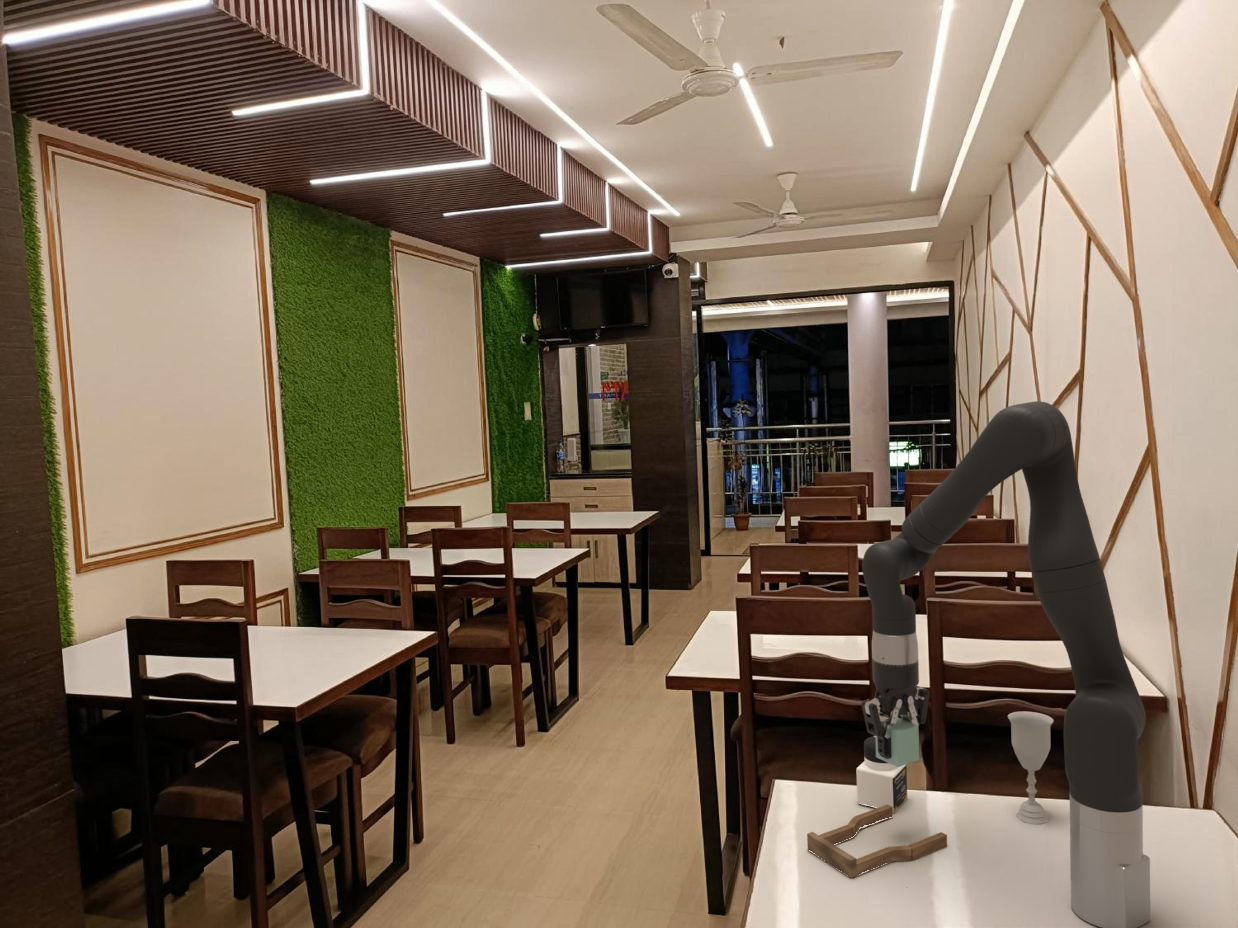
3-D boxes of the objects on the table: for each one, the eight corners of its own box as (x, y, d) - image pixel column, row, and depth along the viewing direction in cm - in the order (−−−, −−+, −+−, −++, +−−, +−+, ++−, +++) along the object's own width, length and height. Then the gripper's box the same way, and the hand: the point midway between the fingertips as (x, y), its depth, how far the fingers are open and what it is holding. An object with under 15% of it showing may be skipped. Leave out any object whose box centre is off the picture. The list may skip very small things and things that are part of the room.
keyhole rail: (947, 846, 148) (946, 829, 148) (858, 882, 139) (857, 864, 139) (887, 814, 160) (887, 798, 160) (801, 846, 151) (801, 829, 150)
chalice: (1008, 821, 155) (1006, 722, 154) (1010, 804, 161) (1009, 709, 160) (1054, 829, 152) (1053, 727, 150) (1055, 811, 158) (1054, 714, 156)
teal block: (919, 759, 150) (918, 725, 150) (897, 766, 148) (896, 732, 147) (897, 750, 155) (896, 716, 154) (876, 756, 152) (875, 723, 152)
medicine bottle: (894, 814, 160) (892, 750, 159) (856, 804, 165) (854, 742, 164) (908, 798, 166) (906, 736, 165) (871, 789, 170) (869, 729, 169)
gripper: (880, 669, 143) (882, 771, 144) (942, 653, 150) (944, 750, 151) (847, 658, 150) (850, 755, 151) (908, 643, 156) (911, 736, 158)
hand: (897, 752), depth 151 cm, fingers closed on teal block, 5 cm apart
